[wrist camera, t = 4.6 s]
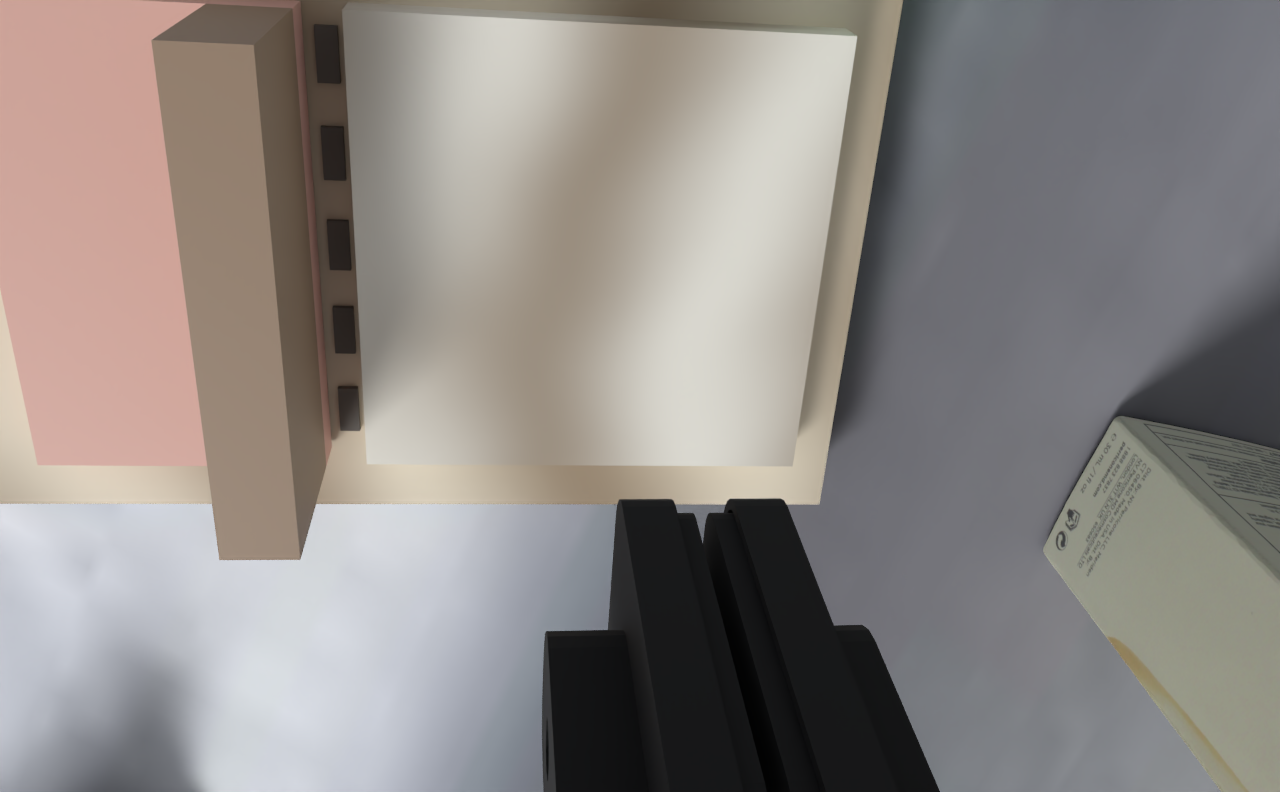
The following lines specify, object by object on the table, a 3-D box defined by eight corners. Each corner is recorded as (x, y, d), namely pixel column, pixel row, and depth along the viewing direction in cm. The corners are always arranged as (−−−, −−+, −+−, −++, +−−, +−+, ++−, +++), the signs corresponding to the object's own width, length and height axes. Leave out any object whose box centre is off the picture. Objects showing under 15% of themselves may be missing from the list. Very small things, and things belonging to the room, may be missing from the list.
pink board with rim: (300, 0, 20) (253, 45, 16) (332, 446, 24) (299, 559, 20) (-43, -18, 19) (-170, 25, 15) (51, 444, 23) (-31, 561, 20)
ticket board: (887, -65, 22) (926, -51, 20) (804, 469, 27) (827, 524, 25) (-407, -146, 19) (-517, -139, 17) (-206, 464, 24) (-270, 525, 22)
